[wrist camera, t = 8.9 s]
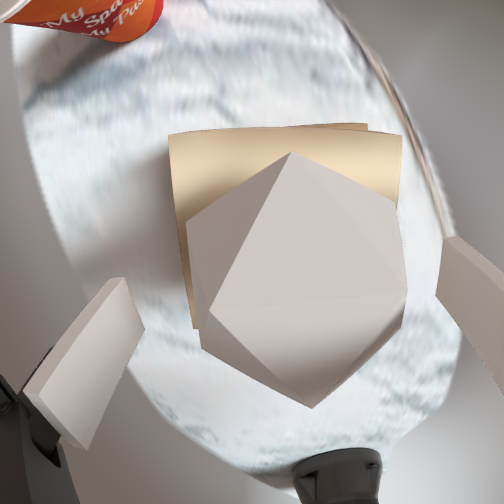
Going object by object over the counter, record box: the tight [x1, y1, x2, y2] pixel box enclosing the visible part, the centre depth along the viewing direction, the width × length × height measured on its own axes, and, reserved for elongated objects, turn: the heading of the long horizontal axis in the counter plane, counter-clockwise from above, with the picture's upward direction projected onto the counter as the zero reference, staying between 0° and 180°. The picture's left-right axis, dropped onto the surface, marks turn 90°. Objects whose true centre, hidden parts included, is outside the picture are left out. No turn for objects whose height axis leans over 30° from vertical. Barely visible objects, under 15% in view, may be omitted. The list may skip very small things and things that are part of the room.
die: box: [186, 151, 408, 409], centre depth 11 cm, size 8×9×10 cm
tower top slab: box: [168, 127, 402, 329], centre depth 17 cm, size 11×11×4 cm
